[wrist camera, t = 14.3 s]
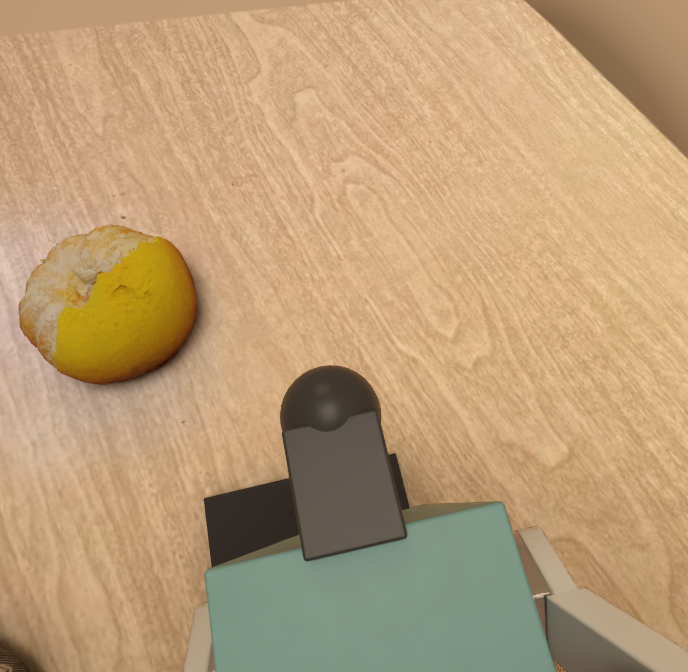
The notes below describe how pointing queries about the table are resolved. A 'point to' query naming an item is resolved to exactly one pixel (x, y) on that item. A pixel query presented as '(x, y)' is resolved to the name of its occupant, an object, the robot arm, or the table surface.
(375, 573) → the iron
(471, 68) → the table surface
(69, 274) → the fruit
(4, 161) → the table surface
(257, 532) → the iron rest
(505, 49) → the table surface
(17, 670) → the planter
